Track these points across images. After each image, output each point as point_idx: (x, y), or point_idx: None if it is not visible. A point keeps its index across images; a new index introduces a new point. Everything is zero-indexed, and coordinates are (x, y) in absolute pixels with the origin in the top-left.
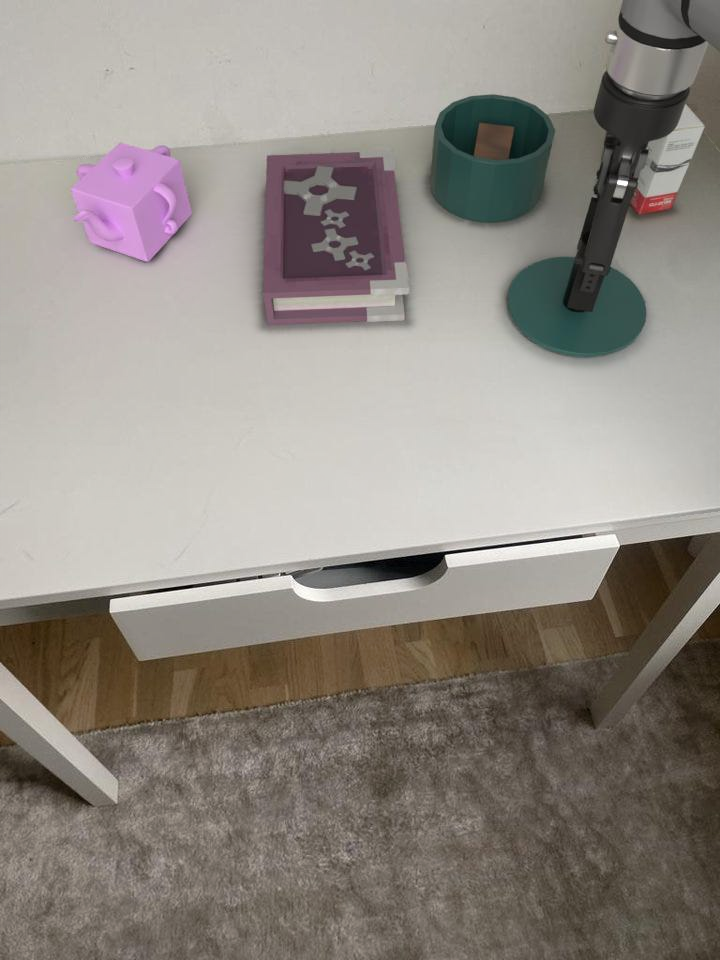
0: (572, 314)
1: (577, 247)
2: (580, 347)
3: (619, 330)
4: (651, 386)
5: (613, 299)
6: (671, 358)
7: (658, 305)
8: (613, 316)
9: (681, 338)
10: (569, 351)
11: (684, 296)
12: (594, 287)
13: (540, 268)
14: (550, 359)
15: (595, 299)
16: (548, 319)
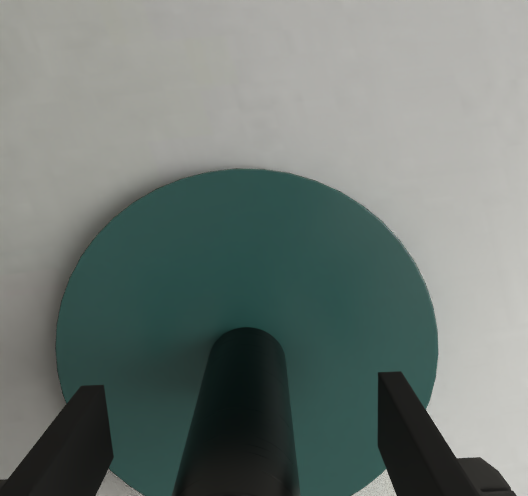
0: (296, 366)
1: (110, 463)
2: (416, 328)
3: (322, 237)
4: (473, 117)
5: (200, 270)
6: (353, 72)
7: (150, 132)
8: (270, 261)
9: (264, 50)
10: (437, 352)
11: (82, 57)
12: (509, 490)
13: (146, 469)
14: (436, 376)
15: (419, 404)
16: (333, 419)
